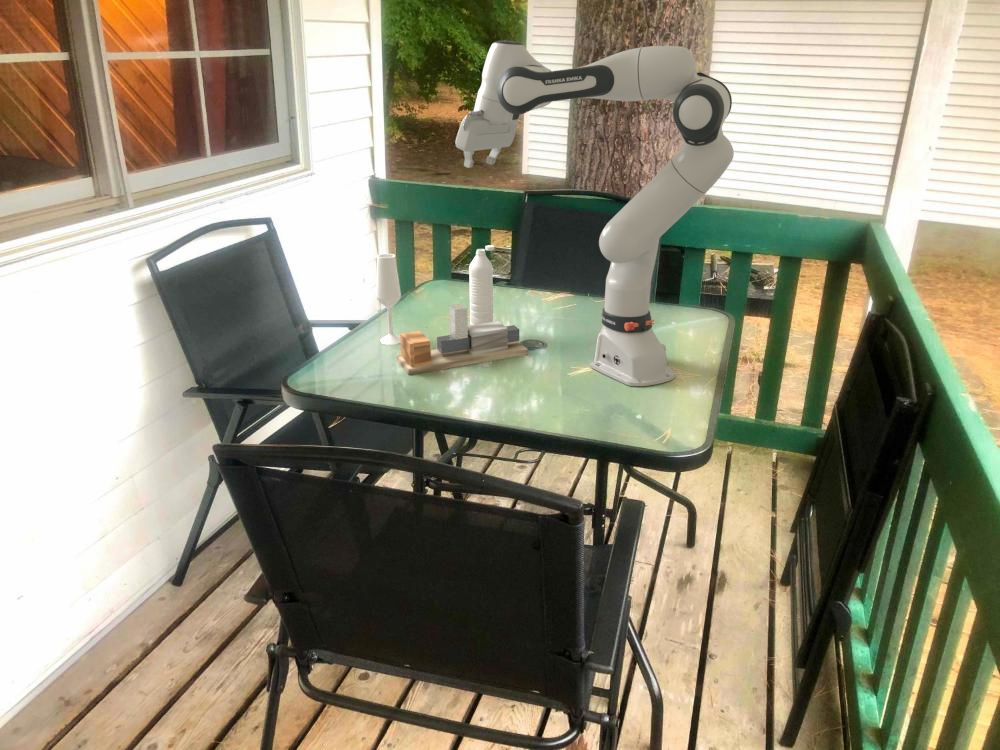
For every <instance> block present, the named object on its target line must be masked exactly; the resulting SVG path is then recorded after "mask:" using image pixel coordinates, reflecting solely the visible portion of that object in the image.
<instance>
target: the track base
mask: <svg viewBox="0 0 1000 750" xmlns="http://www.w3.org/2000/svg"><path fill="white" fill-rule="evenodd" d="M468 334H469V335H470V336H471V349H468V350H462V351H455V352H449V353H443V354H441V353H440V352H439V351H438V350H437V348H435V349H432V348H431V340H430V339H429V338H428V337H427V336H426V335H425V334H424V333H423V332H421V330H416V331H409V332H405V333H404V332H403V333H402V332H401V333H399V337H400V340H401V343H400V354H398V355H396V361H397V363H398V364H399V365H400V366H401V367H402V369H403V368H404V369H403V370H404V371H405V372H406V374H411V375H415V374H421V373H429V372H433V371H438V370H445V369H449V368H450V369H451V368H456V367H463V366H468V365H474V364H480V363H484V362H485V363H487V362H492V361H497V360H503V359H509V358H516V357H521V356H522V357H523V356H527V354H529V349H528V348H527V347H526V346H524V345H523V344H522V343H520V341H517V342H511V343H508V328H507V327H506V325H504V324H503V323H501V321H493V322H490V323H483V324H476V325H470V324H469V325H468Z"/></svg>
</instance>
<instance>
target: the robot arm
mask: <svg viewBox="0 0 1000 750" xmlns="http://www.w3.org/2000/svg"><path fill="white" fill-rule="evenodd" d="M475 98H476V99H475V104H474V106H473V110H470V111H469V112H468V113H467V114H466V115H465V116H464V118H462V121H461V122H460V125H459V129H458V132H457V134H456V138H455V143H454V144H455V147H456V148H457V149H459V150H460V151H463V157H464V161H463V166H464V167H466V169H467V168H468V169H469V168H473V167H474V163H475V160H473V155H474V154H475V151H476V152H477V151H484V150H490V153H489V155H487V156H486V159H485V163H486V164H488V165H494V164H495V163H496V159H497V158H498V156H499V154H500V153H501V151H502V148H509V147H511V145H512V144H513V141H514V139H515V135H516V133H517V127H518V121H519V120H520V119H521V116H522V115H523V114H526V113H528V112H530V111H534V110H538V109H542V108H544V107H547V106H548V105H550V104H551V103H552V102H559V101H567V100H568V101H569V100H575V99H597V100H607V101H619V102H643V101H649V100H650V101H651V100H667V101H670V102H672V103H673V107H672V117H673V122H674V123H675V124H674V125H675V126H676V127H677V129H678V131H679V133H680V134H681V136H682V139H683V140H684V142H685V143H684V144H683V146H682V147H681V148H680V150H678V151H677V153H675V155H674V156H672V157H671V158H670V160H669V161H668V162H667V163H666V164H665V165H664V166H663V167H662V168H661V169H660V170H659V171H658V172H657V173H656V174H655V176H654V177H652V179H651V180H650V181H649V182H648V183H647V184H646V185H645V186H643V187H642V189H640V190H639V192H637V193H636V195H634V196H633V197H632V198H631V199H630V200H629V201H628V202H627V203H626V204H625V205H624V206H623V207H622V208H621V209H620V210H619V211H618V212H617V213H616V214H615V215H614V216H612V218H611V219H610V220H609V221H608V222H607V223H606V225H605V226H604V228H603V229H602V231H601V232H600V235H599V240H598V246H599V250H600V252H601V255H603V257H604V258H605V259H606V260H608V261H609V262H610V266H609V269H608V272H607V275H606V278H605V291H604V306H603V309H602V311H601V312H602V313H601V324H602V327H601V328H600V331H599V333H598V335H597V339H596V345H595V353H594V360H592V361H591V362H590V368H591V369H593V370H595V371H597V372H599V373H601V374H603V375H605V376H607V377H610V378H611V379H614V380H616V381H617V382H620V383H622V384H624V385H627V386H629V387H646V386H647V387H648V386H653V385H659V384H663V383H667V382H670V381H673V380H674V379H675V378H676V377H677V375H676V372H675V371H674V370H673V369H672V368H671V367H670V366H668V365H667V360H668V358H667V353H666V349H667V348H666V345H665V344H663V343H661V342H660V340H659V339H658V337H657V335H656V334H655V332H654V331H653V330H654V329H652V328H653V325H654V324H655V323H654V321H655V319H652V315H651V311H650V301H651V300H650V298H651V287H652V286H651V285H652V278H653V274H654V269H655V264H656V260H657V254H658V249H659V243H660V238H661V237H662V236H663V235H664V234H665V233H667V231H668V230H669V229H670V228H672V227H673V225H674V224H676V223H677V222H678V221H679V219H681V218H682V217H683V216H684V215H685V214H686V213H687V212H688V211H689V210H690V209H691V208H692V207H693V206H694V205H695V204H696V203H697V202H698V201H700V199H701V198H702V197H703V196H704V195H705V194H706V193H708V192H709V190H710V189H712V187H713V186H714V185H715V184H716V183H717V182H718V181H719V179H720V178H721V177H722V176H723V174H724V173H725V172H726V170H727V169H728V168H729V166H730V165H731V163H732V161H733V160H734V148H733V145H732V143H731V141H730V140H729V139H728V137H726V135H724V132H723V125H724V122H725V120H726V119H727V118H728V116H729V115H730V112H731V109H732V106H733V102H732V100H733V99H732V94H731V92H730V90H729V89H728V87H727V86H726V84H724V83H723V82H721V81H720V80H718V79H717V78H714V77H712V76H709V75H707V74H706V73H703V72H700V71H699V72H697V66H696V60H695V58H694V55H693V53H692V52H691V51H690V49H688V48H687V47H685V46H680V45H679V46H677V45H653V46H651V45H650V46H643V47H635V48H630V49H625V50H624V51H620V52H618V53H614V54H612V55H611V54H610V55H608V56H606V57H604V58H601V59H598V60H596V61H595V62H592V63H591V62H590V63H589V64H586V65H582V66H579V67H578V66H577V67H574V68H573V67H572V68H566V69H560V70H551V69H549V68H548V67H546V66H544V65H543V64H542V63H541V62H540V61H538V60H536V59H535V57H534V56H532V54H531V53H530V52H529V51H528V50H527V48H526V46H525V44H524V43H522V42H519V41H516V40H504V39H501V40H496V41H494V42H493V43H492V44H491V45H490V47H489V50H488V52H487V55H486V58H485V60H484V64H483V68H482V72H481V84H480V87H479V88H478V91H477V95H476V97H475Z"/></svg>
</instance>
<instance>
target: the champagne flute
mask: <svg viewBox="0 0 1000 750" xmlns="http://www.w3.org/2000/svg"><path fill="white" fill-rule="evenodd" d="M398 273H399V272H398V267H397V260H396V255H395V254H393V253H381V254H378V255H377V256H376V284H375V285H376V286H375V288H376V289H375V297H376V299H377V301H378V302H379V303H380V305H382V306H384V307H385V308H387V309H386V310H387V311H386V312H387V325H388V327H387V328H388V334H386V335H384V336H383V337H382V338H380V339H379V340H380V342H381V343H380V342H379V343H380V344H383V345H387V346H392V345H398V344H401V340H400V335H397V334H395V333H394V326H393V311H392V307H394V306H396V304H397V303H398V302H399V301H400V299H401V297H402V292H401V286H400V279H399V274H398Z"/></svg>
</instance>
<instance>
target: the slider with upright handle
mask: <svg viewBox="0 0 1000 750" xmlns="http://www.w3.org/2000/svg"><path fill="white" fill-rule="evenodd" d="M448 308H449V309H448V310H449V314H448V315H449V334H448V335H442V336H441V335H439V336H436V349H437V350H438V351H439V352H440V353H441V354H443V353H449V352H455V351H462V350H468V349H471V336H470V335H469V334H468V326H469V323H468V321H469V320H468V307H467V306H466V305H464V304H463V303H456V304H449V305H448ZM505 327H507V328H508V343H511V342H517V341H518V342H520V328H518V327H517V326H516V325H505Z"/></svg>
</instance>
